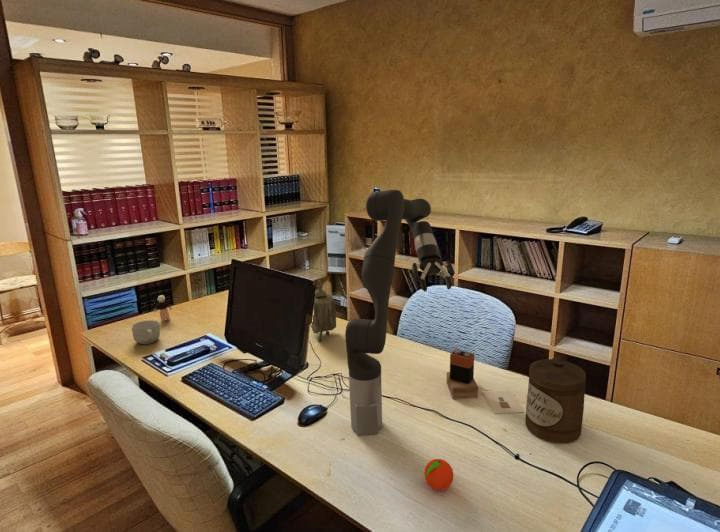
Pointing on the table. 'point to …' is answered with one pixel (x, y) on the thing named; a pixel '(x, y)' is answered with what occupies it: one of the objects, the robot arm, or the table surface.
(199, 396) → the table surface
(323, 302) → the grey brown tall figure
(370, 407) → the robot arm
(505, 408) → the page
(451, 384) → the base brick
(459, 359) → the battery
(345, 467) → the table surface
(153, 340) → the teacup
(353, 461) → the table surface
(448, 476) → the red tomato
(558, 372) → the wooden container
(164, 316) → the grandmother figurine
